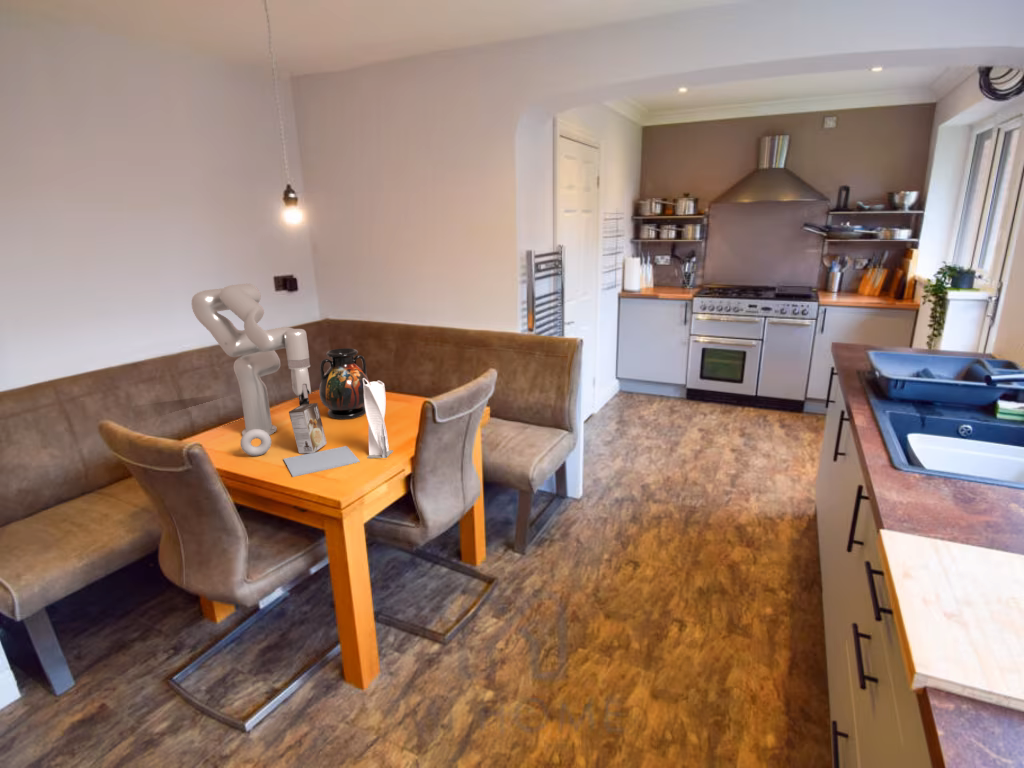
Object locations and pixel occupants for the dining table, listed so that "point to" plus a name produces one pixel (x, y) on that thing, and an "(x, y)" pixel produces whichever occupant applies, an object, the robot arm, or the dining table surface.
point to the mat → (320, 461)
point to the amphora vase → (343, 384)
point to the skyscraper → (376, 419)
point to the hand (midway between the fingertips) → (305, 411)
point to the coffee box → (308, 428)
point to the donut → (254, 450)
